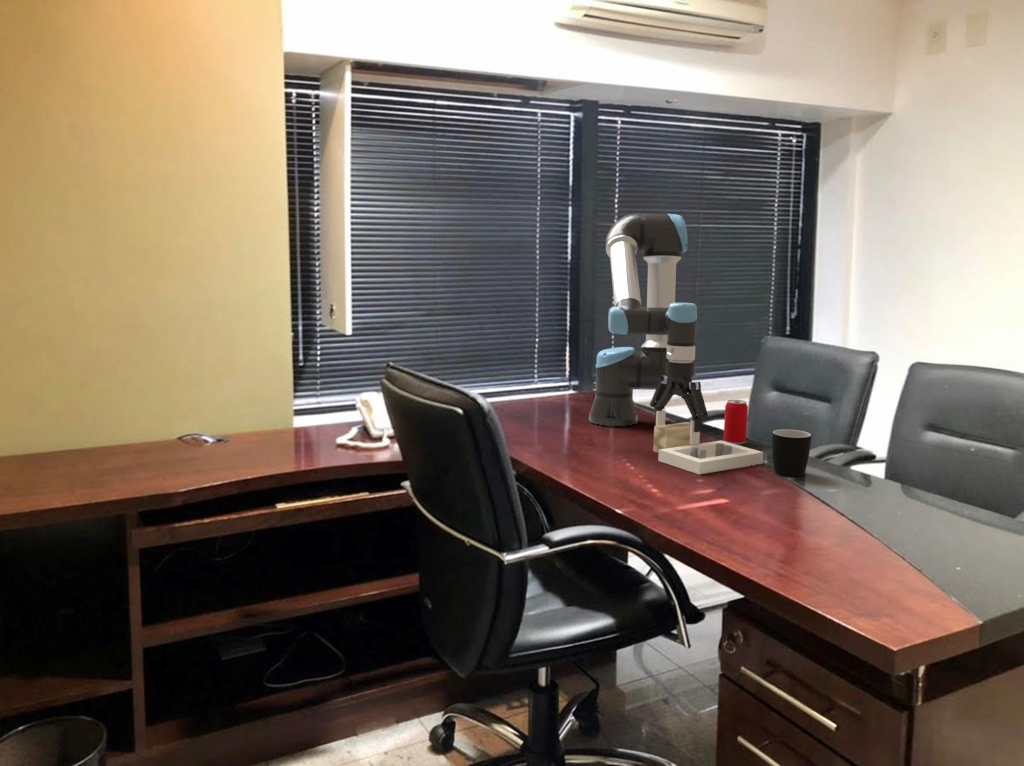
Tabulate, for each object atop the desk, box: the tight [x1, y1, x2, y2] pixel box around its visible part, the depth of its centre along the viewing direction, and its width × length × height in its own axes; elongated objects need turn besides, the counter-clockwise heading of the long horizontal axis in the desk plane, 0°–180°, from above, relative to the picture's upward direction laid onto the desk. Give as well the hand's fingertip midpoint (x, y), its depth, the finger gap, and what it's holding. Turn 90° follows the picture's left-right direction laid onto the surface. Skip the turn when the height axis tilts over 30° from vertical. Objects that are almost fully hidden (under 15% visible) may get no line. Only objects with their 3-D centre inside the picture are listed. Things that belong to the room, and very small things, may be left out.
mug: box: [771, 428, 812, 478], centre depth 210 cm, size 12×9×10 cm
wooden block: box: [652, 421, 701, 454], centre depth 231 cm, size 5×12×7 cm, turn 121°
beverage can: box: [723, 399, 749, 446], centre depth 240 cm, size 6×6×12 cm
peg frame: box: [657, 440, 764, 475], centre depth 219 cm, size 15×22×4 cm
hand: (676, 438), depth 231 cm, fingers open, 13 cm apart
